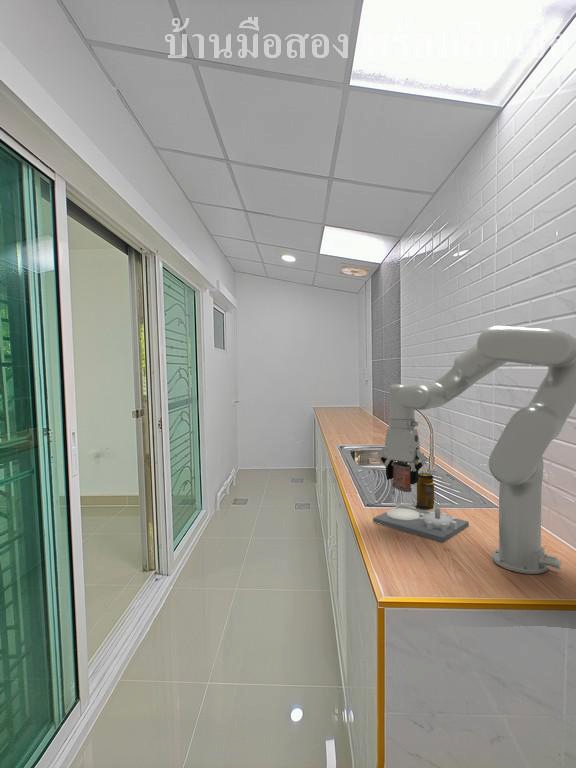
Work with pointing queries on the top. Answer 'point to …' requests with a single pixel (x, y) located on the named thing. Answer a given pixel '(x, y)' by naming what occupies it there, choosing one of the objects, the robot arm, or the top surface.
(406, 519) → the gear board
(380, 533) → the top surface
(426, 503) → the condiment
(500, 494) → the robot arm
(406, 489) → the lighter
